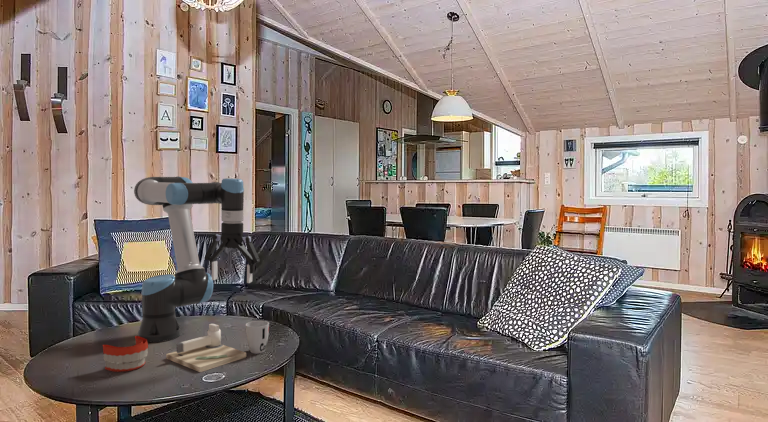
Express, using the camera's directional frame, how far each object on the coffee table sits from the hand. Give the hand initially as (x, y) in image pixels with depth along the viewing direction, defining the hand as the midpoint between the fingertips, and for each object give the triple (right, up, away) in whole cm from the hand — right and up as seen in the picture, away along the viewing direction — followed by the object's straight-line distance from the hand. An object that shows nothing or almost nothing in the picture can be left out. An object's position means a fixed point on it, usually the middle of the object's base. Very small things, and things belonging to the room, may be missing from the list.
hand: (232, 280), depth 188 cm
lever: (-10, -23, -5) cm, 26 cm away
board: (-6, -25, -8) cm, 27 cm away
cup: (+9, -25, -1) cm, 27 cm away
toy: (-28, -26, -17) cm, 42 cm away
